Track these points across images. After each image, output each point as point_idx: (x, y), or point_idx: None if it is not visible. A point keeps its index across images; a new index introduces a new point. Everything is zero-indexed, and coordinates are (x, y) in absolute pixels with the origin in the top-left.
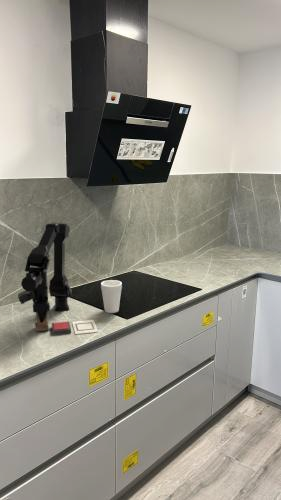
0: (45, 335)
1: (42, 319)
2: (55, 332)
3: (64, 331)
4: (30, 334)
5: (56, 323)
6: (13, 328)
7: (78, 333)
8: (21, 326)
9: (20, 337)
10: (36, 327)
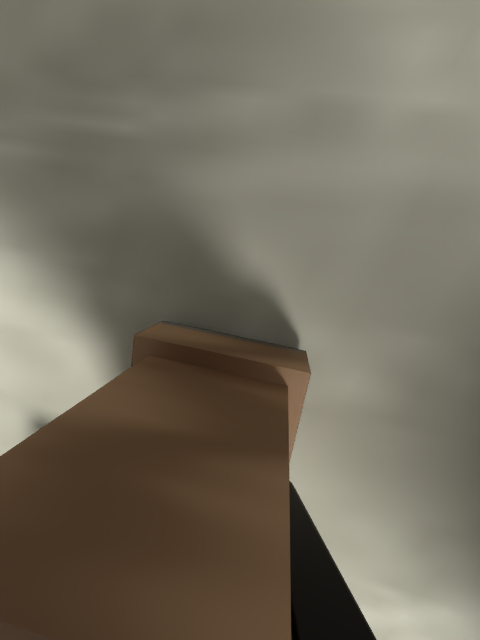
0: (66, 386)
1: None
2: None
3: None
4: (134, 254)
5: None
6: (411, 58)
7: None
8: (423, 185)
9: (94, 130)
10: (138, 344)
